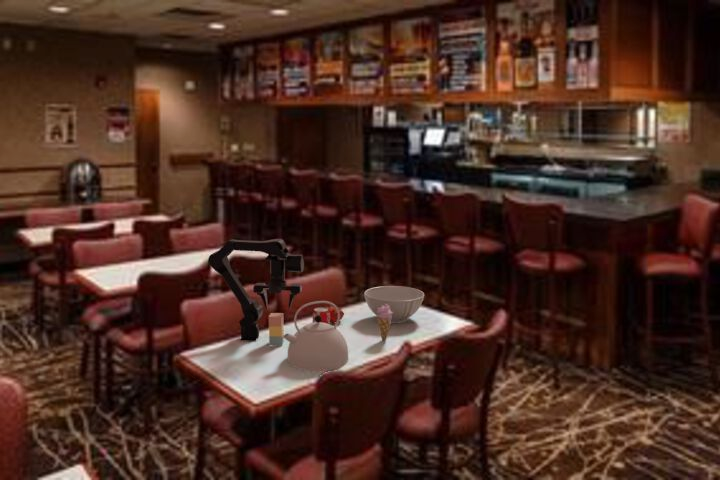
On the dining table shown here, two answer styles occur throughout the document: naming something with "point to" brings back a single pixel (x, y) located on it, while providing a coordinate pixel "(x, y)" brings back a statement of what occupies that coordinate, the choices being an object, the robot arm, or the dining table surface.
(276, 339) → the teal base brick
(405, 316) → the decorative bowl
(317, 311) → the soda can
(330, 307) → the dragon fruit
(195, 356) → the dining table surface
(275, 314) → the terracotta brick
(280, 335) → the mustard brick
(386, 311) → the ice cream cone
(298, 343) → the kettle
